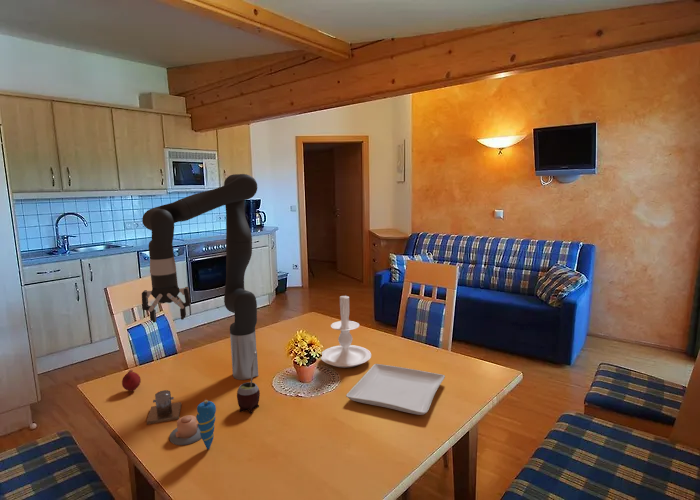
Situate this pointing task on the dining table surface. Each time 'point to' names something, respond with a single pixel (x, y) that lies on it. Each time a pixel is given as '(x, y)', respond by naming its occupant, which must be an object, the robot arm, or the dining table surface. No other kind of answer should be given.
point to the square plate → (397, 388)
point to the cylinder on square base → (164, 408)
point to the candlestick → (345, 342)
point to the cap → (186, 427)
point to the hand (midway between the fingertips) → (168, 320)
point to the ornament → (206, 421)
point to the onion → (131, 381)
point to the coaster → (184, 440)
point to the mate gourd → (248, 394)
